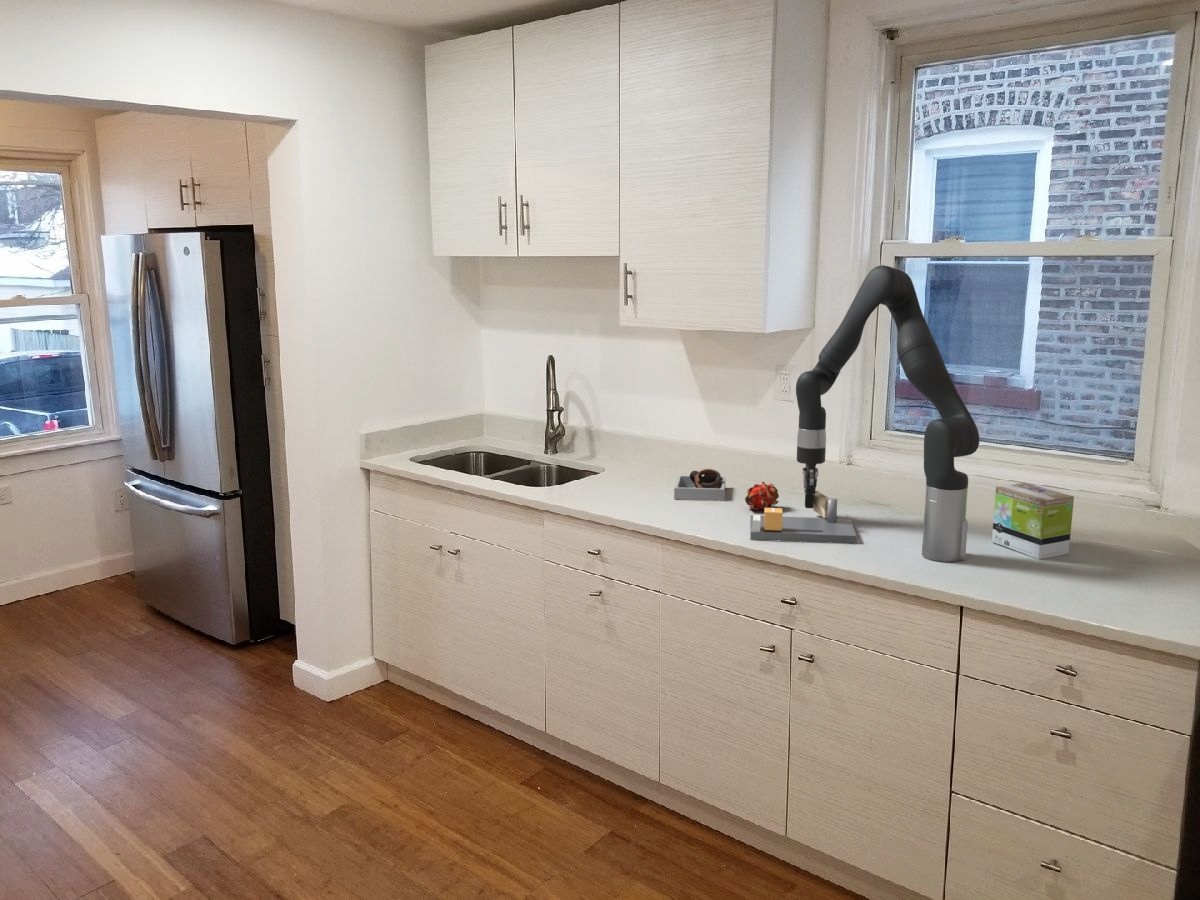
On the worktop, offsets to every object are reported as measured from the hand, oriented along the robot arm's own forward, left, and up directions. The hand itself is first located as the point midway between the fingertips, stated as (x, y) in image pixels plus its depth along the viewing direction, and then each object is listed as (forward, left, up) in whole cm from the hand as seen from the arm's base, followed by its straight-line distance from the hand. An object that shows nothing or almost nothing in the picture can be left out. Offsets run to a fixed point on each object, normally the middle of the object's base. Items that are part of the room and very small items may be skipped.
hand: (808, 507), depth 256 cm
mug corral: (+31, -26, -4) cm, 40 cm away
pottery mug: (+29, -29, -4) cm, 41 cm away
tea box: (-51, +20, -4) cm, 55 cm away
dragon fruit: (+13, -9, -4) cm, 16 cm away
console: (+3, +13, -3) cm, 14 cm away
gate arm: (-3, +1, -1) cm, 3 cm away
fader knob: (+10, +18, -1) cm, 21 cm away
